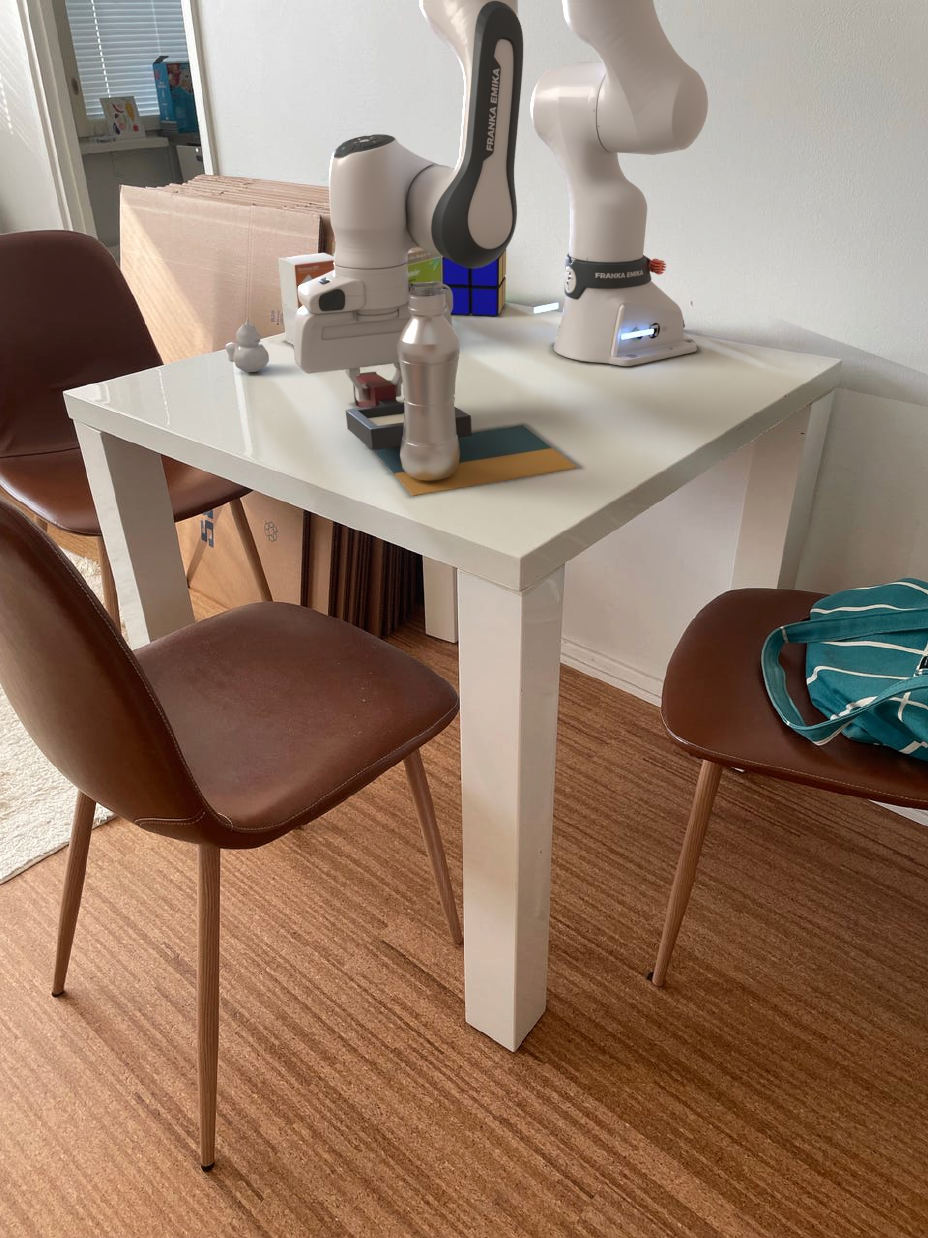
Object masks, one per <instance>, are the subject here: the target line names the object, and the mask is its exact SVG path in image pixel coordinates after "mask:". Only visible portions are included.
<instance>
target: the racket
mask: <svg viewBox="0 0 928 1238" xmlns="http://www.w3.org/2000/svg"><path fill="white" fill-rule="evenodd" d="M356 378H357V379H358V381H359V382H360V384H366V385H367V386H368V387H369V391H370V394H369V396H370V400H368V401H362V402H358V400H357V399H356V395H355V386H354V385H353V384H352V388H353V397H354V404H355V405H356V406H358V407H357V408H347V409H345V418H346V427H347V430H348V431H349V432H350V433H352V434H353V436H355V437H356V438H357V439H359V440H360V441H361V442H362V443H363V444H364V445H365V446H366V447H368V448H369V449H370V450H371V451H374V450H380V449H386V448H393V447H400V446H401V442H402V437H403V428H404V410H405V405H404V401H402V402H400V401H399V400H398V399H397V397H396V389H395V384H393V383H391V382H390V381H391V380H388V379H386V378H385V377H383V376H381V375H380V374H378V373H377V371H370V372H369V371H368V372H360V376H356ZM454 409H455V421H456V434H457V436H458V438H461V437H468V436H472V433H473V432H472V431H473V430H472V415H470V414H469V413H467V412H466V411H463V410H462V409H460V408H458V407H456V406H454Z"/></svg>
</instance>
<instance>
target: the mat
mask: <svg viewBox="0 0 928 1238" xmlns="http://www.w3.org/2000/svg"><path fill="white" fill-rule="evenodd" d="M458 441H459V447H460V459H459V464H458V468H457V469H456V471H455V472H454V473H453V475H451V476H450V477H448V478H445V479H441V480H432V481H426V480H418V479H414V478H412V477H410V476H408V474H407V473H406V472H405V471H404V469H403V467H402V463H401V458H400V450H401V446H400V447H393V448H386V449H380V450H373V451H374V452H375V453H376V455H378V457H379V458H380V459H381V460H382V462H383V463H384V464H385V465H386V466H387V467H388V469H389V470H390V471H391V472H392V474H394V476H396V478H397V479H398V480H399V482H400V483H401V484H402V485H403V486H404V488H405V489H406V490H407V491H408V492H409V493H410V495H411V496H412V497H415V496H422V495H427V494H433V493H438V492H445V491H451V490H457V489H462V488H468V487H474V486H480V485H485V484H491V483H498V482H505V481H509V480H510V481H511V480H516V479H521V478H527V477H534V476H539V475H545V474H551V473H557V472H563V471H568V470H569V471H570V470H575V469H578V467H577V466H576V465H575V464H573V463H572V462H571V461H569V460H568V459H567V458H566V457H564V456H563V455H562V454H561V453H559V452H558V451H557V450H556V449H554V448H553V447H552V446H550V445H549V444H548V443H547V442H545V441H544V440H543V439H541V438H540V437H539V436H537V435H536V434H535V433H533V432H532V431H531V430H530V429H529V428H527V427H526V426H525V425H523V424H521V425H520V424H519V425H514V426H507V427H500V428H493V429H487V430H480V431H473V432H472V436H468V437H461V438H458Z"/></svg>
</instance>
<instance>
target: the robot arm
mask: <svg viewBox="0 0 928 1238" xmlns="http://www.w3.org/2000/svg"><path fill="white" fill-rule="evenodd" d="M561 1H562V7H563V16H564V20H565V22H566V25H567V27H568V28H569V30H570V31H571V33H572V34H573V35H574V36H575V37H577V38H578V39H579V40H580V41H582V42H583V43H585V44H586V45H587V46H589V47H590V48H591V49H592V51H594V53H595V54H596V56H597V57H598V58H599V60H600V61H576V62H571V63H566V64H563V65H559V66H555V67H552V68H548V69H547V70H546V71H544V72H543V73H542V74H541V75H540V77H539V79H538V80H537V82H536V85H534V89H533V91H532V94H531V95H532V96H531V100H530V117H531V123H532V125H533V128H534V131H535V132H536V135H537V136H538V138H539V139H540V140H542V142H544V144H545V145H546V146H547V147H548V148H549V150H550V151H551V152H552V154H553V156H554V157H555V159H556V161H557V162H558V165H559V167H560V169H561V172H562V174H563V177H564V181H565V185H566V188H567V194H568V203H569V242H568V243H569V244H568V253H567V254H566V255H565V263H564V264H565V266H564V276H563V277H564V279H563V281H564V282H563V288H564V291H563V292H564V303H563V309H562V313H561V314H562V315H561V319H560V325H559V329H558V331H557V336H556V337H555V338H556V339H555V342H554V345H553V346H552V347H553V351H554V352H555V353H557V354H558V355H560V356H562V357H565V358H568V359H570V360H571V359H572V360H576V361H581V362H586V363H587V362H588V363H601V364H610V365H615V366H620V367H632V366H636V365H642V364H645V363H651V362H654V361H660V360H663V359H670V358H673V357H677V356H678V357H679V356H681V355H687V354H690V353H691V354H692V353H695V352H697V350H698V349H697V346H698V345H697V341H695V340H694V338H692V337H690V336H689V335H687V334H685V333H684V332H685V331H684V329H685V328H686V324H685V320H684V315H683V310H682V309H681V307H680V306H679V304H678V303H676V301H674V300H673V299H672V298H671V297H670V296H668V294H666V293H665V292H664V291H663V290H662V289H661V288H660V287H659V286H658V285H656V284H655V283H654V281H652V275H651V273H653V274H655V275H658V276H660V275H662V274H664V273H665V271H666V268H667V263H666V262H665V261H664V260H663V259H662V260H661V259H658V258H653V259H650V258H649V257H648V256H646V255H645V254H644V250H645V241H646V240H645V238H646V228H647V218H648V202H647V199H646V197H645V195H644V193H643V192H642V190H641V189H640V188H639V187H638V186H637V185H635V184H634V183H632V182H631V181H629V179H628V178H627V177H626V176H625V175H624V172H623V170H622V168H621V165H620V162H619V156H618V154H631V155H634V154H635V155H649V156H656V155H662V154H669V153H674V152H679V151H684V150H686V149H688V148H689V147H690V146H691V145H692V144H693V143H694V142H695V141H696V139H697V138H698V137H699V135H700V134H701V132H702V130H703V128H704V126H705V123H706V120H707V116H708V110H709V98H708V92H707V87H706V84H705V82H704V80H703V78H702V76H701V75H700V73H699V72H698V71H697V70H695V69H694V68H693V67H691V66H690V65H689V64H688V63H687V62H686V61H685V60H683V57H681V56H680V55H679V53H677V51H676V49H674V47H673V45H672V44H671V42H670V40H669V39H668V37H667V35H666V33H665V31H664V29H663V27H662V24H661V22H660V20H659V17H658V15H657V11H656V7H655V2H654V0H561ZM418 2H419V8H420V10H421V13H422V15H423V17H424V19H425V21H426V23H427V25H428V26H429V28H430V29H431V30H432V33H434V34H435V36H436V37H437V38H438V39H439V40H440V41H441V42H443V43H444V44H445V45H446V46H448V48H449V49H450V50H451V52H452V53H453V54H454V55H455V57H456V58H457V60H458V62H459V65H460V67H461V70H462V71H461V72H462V74H463V81H464V95H463V108H462V121H461V135H460V146H459V158H458V160H457V164H456V165H455V167H450V166H448V165H444V164H438V163H435V162H434V161H432V160H429V159H426V158H424V157H421V156H420V155H418V154H416V153H414V152H412V151H411V150H409V149H408V148H406V147H405V146H403V145H402V144H401V143H400V142H399V141H398V139H397V138H396V137H395V136H393V135H389V134H383V133H381V134H377V133H375V134H371V135H361V136H358V137H353V138H350V139H349V140H346V141H343V142H342V143H340V144H339V146H337V147H336V148H335V150H334V151H333V153H332V154H331V155H332V156H331V159H330V164H329V172H328V174H329V175H328V197H329V199H328V201H329V216H330V219H329V220H330V226H331V229H332V231H333V234H334V239H335V243H336V248H335V253H334V270H333V271H331V272H328V273H326V274H324V275H322V276H320V277H317V278H315V279H313V280H311V281H308V282H306V283H304V284H302V285H300V286H299V287H298V298H299V301H300V302H301V304H302V305H303V306H302V307H301V308H300V309H299V310H298V311H297V313H296V316H295V320H294V334H293V343H294V345H293V356H294V357H293V358H294V361H295V362H294V363H295V364H296V365H297V367H298V368H299V369H300V370H301V371H303V372H304V373H305V374H307V375H310V374H317V373H326V372H327V373H328V372H335V371H343V370H344V373H345V375H346V376H347V378H348V379H349V380H350V382H351V383H352V386H353V385H354V386H355V395H356V399H357V400H358V402H362V401H368V400H370V396H369V394H370V391H369V387H368V386H367V385H366V384H360V382H359V381H358V379H357V378H356V376H360V373H361V368H369V367H377V366H386V365H393V367H394V368H395V369H396V370H395V372H394V374H393V377H392V379H391V380H389V381H390V382H391V383H393V384H395V389H396V398H399V397H402V385H403V381H402V375H401V369H400V363H399V358H398V357H399V356H398V350H397V344H398V340H399V336H400V334H401V333H402V331H403V329H404V327H405V325H406V324H407V323H408V321H409V320H410V318H411V313H409V312H408V306H409V297H408V295H409V292H410V291H413V290H418V289H437V290H441V291H444V292H445V305H446V309H447V311H446V312H445V313H444V317H445V318H446V320H447V321H448V322H449V324H450V325H451V326H452V328H453V329H454V326H453V325H454V324H453V319H452V315H451V312H452V309H453V294H452V291H451V289H450V288H449V287H448V286H447V285H445V284H443V282H442V281H441V282H440V281H432V282H429V283H408V251H409V250H410V249H411V248H421V249H424V250H426V251H428V252H431V253H434V254H438V255H441V257H443V256H444V257H445V258H447V259H449V260H451V261H453V262H455V263H457V264H459V265H461V266H463V267H466V268H481V267H484V266H486V265H488V264H490V263H492V262H493V261H495V260H496V259H497V258H498V257H499V256H500V255H501V254H502V253H503V252H504V251H505V249H506V250H507V248H508V246H509V245H510V243H511V241H512V240H513V236H514V233H515V232H516V231H515V230H516V228H517V227H516V225H517V219H518V204H517V194H516V185H515V161H516V150H517V139H518V129H519V128H518V127H519V116H520V106H521V105H520V104H521V94H522V82H523V69H524V68H523V67H524V33H523V28H522V25H521V22H520V19H519V0H419V1H418ZM443 288H445V289H443ZM558 309H559V302H554V303H550V304H549V303H548V304H545V305H539V306H535V307H533V313H534V314H538V313H542V312H543V313H545V312H548V311H554V310H558Z"/></svg>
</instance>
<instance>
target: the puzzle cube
mask: <svg viewBox="0 0 928 1238" xmlns="http://www.w3.org/2000/svg"><path fill="white" fill-rule="evenodd" d="M506 274H507V248H506V249H505V251H504V252H503V253H502V254H501V255H500V256H499V257H498V258H497V259H496V260H495V261H493V262H492V263H490V264H488V265H486V266H484V267H481V268H466V267H463V266H461V265H459V264H457V263H455V262H453V261H451V260H449V259H447V258H445V257H444V256H441V282H442V284H445V285H447V286H448V287H449V288H450V289H451V291H452V294H453V309H452V312H451V316H470V315H471V316H473V317H498V316H499V315H500V313H501V311H502V309H503V308H504V306H505V303H506V292H507V291H506V290H507V288H506V287H507V285H506V284H507V278H506ZM442 289H445V288H443V287H442Z"/></svg>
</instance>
